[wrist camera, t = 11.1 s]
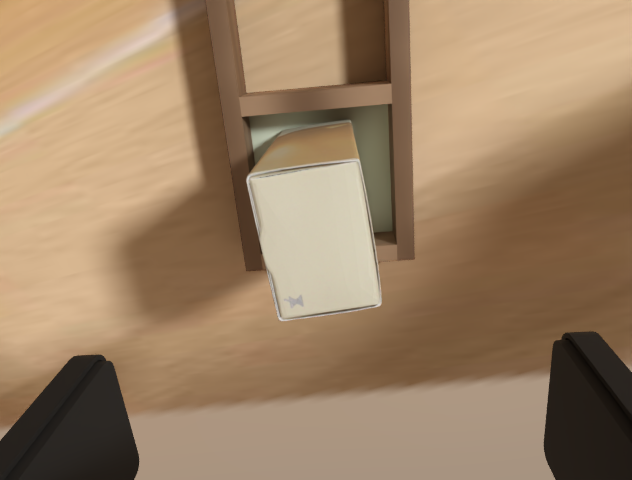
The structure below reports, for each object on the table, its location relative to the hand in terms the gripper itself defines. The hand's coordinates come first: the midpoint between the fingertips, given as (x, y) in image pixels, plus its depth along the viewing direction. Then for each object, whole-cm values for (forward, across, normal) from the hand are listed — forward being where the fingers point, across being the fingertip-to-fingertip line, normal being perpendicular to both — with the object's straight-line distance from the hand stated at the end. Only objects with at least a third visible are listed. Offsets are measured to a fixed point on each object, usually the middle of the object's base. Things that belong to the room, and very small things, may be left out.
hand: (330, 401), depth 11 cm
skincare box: (+21, +1, 0) cm, 21 cm away
